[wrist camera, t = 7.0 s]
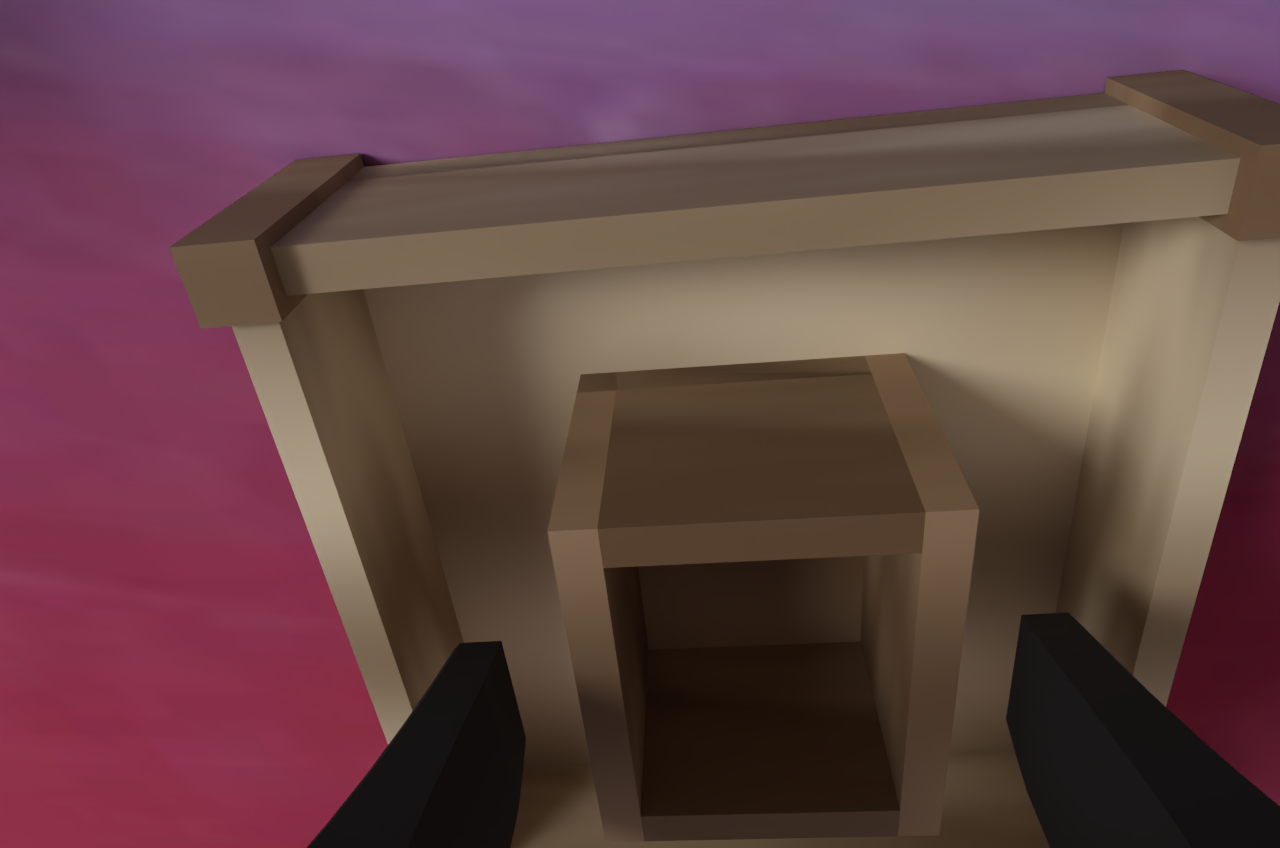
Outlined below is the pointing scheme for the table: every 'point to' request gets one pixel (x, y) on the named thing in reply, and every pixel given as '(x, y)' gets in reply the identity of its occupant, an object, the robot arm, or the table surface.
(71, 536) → the table surface
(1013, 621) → the crate
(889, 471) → the small crate
